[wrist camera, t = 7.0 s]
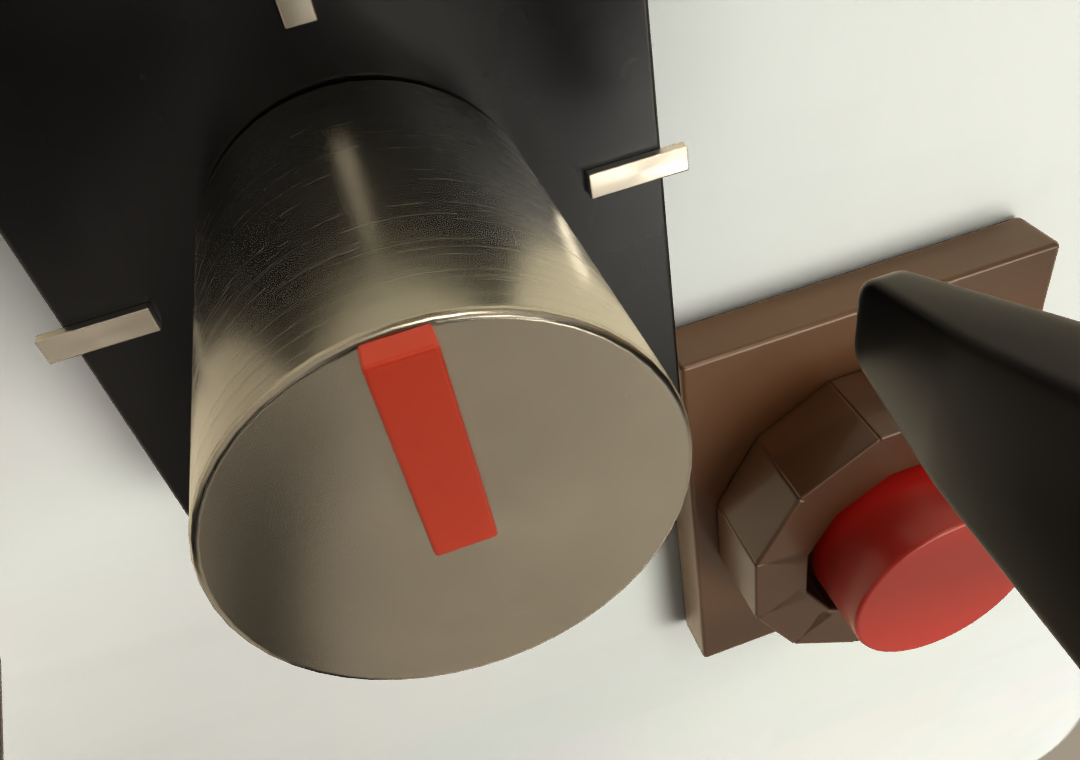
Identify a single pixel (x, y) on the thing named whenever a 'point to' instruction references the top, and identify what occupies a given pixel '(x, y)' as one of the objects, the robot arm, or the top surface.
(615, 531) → the dimmer knob
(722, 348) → the switch block
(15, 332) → the top surface
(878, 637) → the button
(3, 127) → the dimmer panel
